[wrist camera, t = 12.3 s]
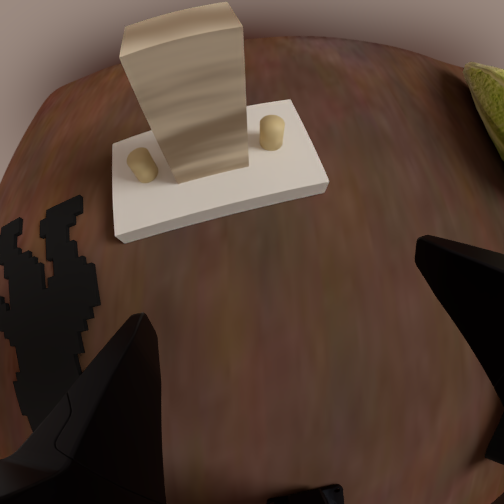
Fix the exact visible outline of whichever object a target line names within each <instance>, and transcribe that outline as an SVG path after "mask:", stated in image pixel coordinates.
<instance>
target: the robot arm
mask: <svg viewBox="0 0 504 504" xmlns="http://www.w3.org/2000/svg"><path fill="white" fill-rule="evenodd" d="M415 263H416V265H417V267H418V269H419V270H420V272H421V273H422V275H423V276H424V278H425V280H426V281H427V283H428V284H429V286H430V288H431V289H432V291H433V293H434V294H435V296H436V297H437V299H438V300H439V302H440V303H441V304H442V306H443V307H444V309H445V310H446V311H447V313H448V314H449V316H450V317H451V319H452V320H453V321H454V323H455V324H456V326H457V327H458V329H459V330H460V332H461V333H462V335H463V336H464V338H465V339H466V341H467V343H468V344H469V346H470V347H471V349H472V350H473V352H474V354H475V355H476V357H477V359H478V360H479V362H480V364H481V365H482V367H483V369H484V370H485V372H486V374H487V376H488V377H489V379H490V381H491V383H492V385H493V386H494V389H495V391H496V393H497V394H498V396H499V398H500V400H501V402H502V404H503V406H504V254H501V253H497V252H494V251H490V250H486V249H483V248H479V247H475V246H471V245H468V244H464V243H460V242H456V241H452V240H448V239H444V238H439V237H435V236H431V235H425V236H422V237H419V238H418V239H417V243H416V252H415ZM337 488H339V489H338V490H336V491H334V490H335V489H337ZM272 502H274V504H344V497H343V488H342V486H341V485H339V484H336V485H332V486H329V487H325V488H321V489H315V490H311V491H306V492H301V493H297V494H291V495H288V496H283V497H276V498H270V499H268V500H267V501H266V504H270V503H272ZM0 504H166V497H165V486H164V472H163V456H162V430H161V373H160V363H159V351H158V338H157V334H156V332H155V330H154V328H153V326H152V324H151V322H150V321H149V319H148V317H147V315H146V314H145V313H138V314H133V315H131V316H130V317H129V319H128V320H127V321H126V322H125V323H124V324H123V325H122V327H121V328H120V329H119V330H118V331H117V332H116V334H115V335H114V336H113V337H112V338H111V339H110V341H109V342H108V343H107V344H106V345H105V346H104V348H103V349H102V350H101V351H100V352H99V353H98V355H97V356H96V357H95V358H94V359H93V361H92V362H91V363H90V364H89V366H88V367H87V368H86V369H85V370H84V372H83V373H82V374H81V375H80V376H79V378H78V379H77V380H76V381H75V383H74V384H73V385H72V386H71V388H70V389H69V390H68V393H66V394H65V395H64V396H63V398H62V399H61V400H60V402H59V403H58V404H57V405H56V407H55V408H54V409H53V410H52V411H51V413H50V414H49V415H48V416H47V417H46V418H45V420H44V421H43V422H42V423H41V424H40V425H39V426H38V428H37V429H36V430H35V431H34V432H33V433H32V434H31V435H30V437H29V438H28V439H27V440H26V441H25V442H24V443H23V445H22V446H21V447H20V448H19V449H18V450H17V451H16V452H15V453H14V454H12V455H11V456H9V457H7V458H4V459H1V460H0ZM491 504H504V493H503V494H502V495H501V496H499V497H498V498H497V499H496V500H495V501H494V502H493V503H491Z"/></svg>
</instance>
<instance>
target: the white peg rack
mask: <svg viewBox="0 0 504 504" xmlns="http://www.w3.org/2000/svg"><path fill="white" fill-rule="evenodd" d="M246 110H247V132H248V155H249V167H244V168H240V169H235V170H231V171H227V172H223V173H219V174H215V175H211V176H207V177H203V178H199V179H195V180H191V181H188V182H184V183H180V184H177V182H176V180H175V177H174V175H173V173H172V171H171V169H170V167H169V165H168V163H167V161H166V159H165V157H164V155H163V153H162V151H161V149H160V147H159V144H158V142H157V140H156V138H155V136H154V134H153V132H152V130H151V131H148V132H145V133H142V134H139V135H136V136H133V137H130V138H128V139H125V140H122V141H119V142H117V143H114V144H113V146H112V193H113V216H114V231H115V237H117V238H118V239H119V240H121V241H122V242H123V243H129V242H132V241H136V240H139V239H142V238H146V237H149V236H153V235H156V234H160V233H163V232H167V231H171V230H174V229H178V228H182V227H185V226H189V225H193V224H196V223H200V222H204V221H208V220H212V219H215V218H219V217H223V216H227V215H231V214H235V213H239V212H243V211H247V210H251V209H255V208H260V207H264V206H268V205H272V204H277V203H281V202H285V201H290V200H294V199H298V198H303V197H307V196H312V195H317V194H321V193H324V192H325V190H326V188H327V186H328V183H329V180H328V177H327V175H326V173H325V171H324V168H323V166H322V164H321V161H320V159H319V157H318V155H317V153H316V151H315V148H314V146H313V144H312V142H311V140H310V138H309V136H308V134H307V132H306V129H305V127H304V125H303V123H302V121H301V119H300V117H299V115H298V113H297V111H296V110H295V108H294V106H293V104H292V102H291V100H282V101H275V102H269V103H263V104H257V105H251V106H246Z"/></svg>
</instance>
